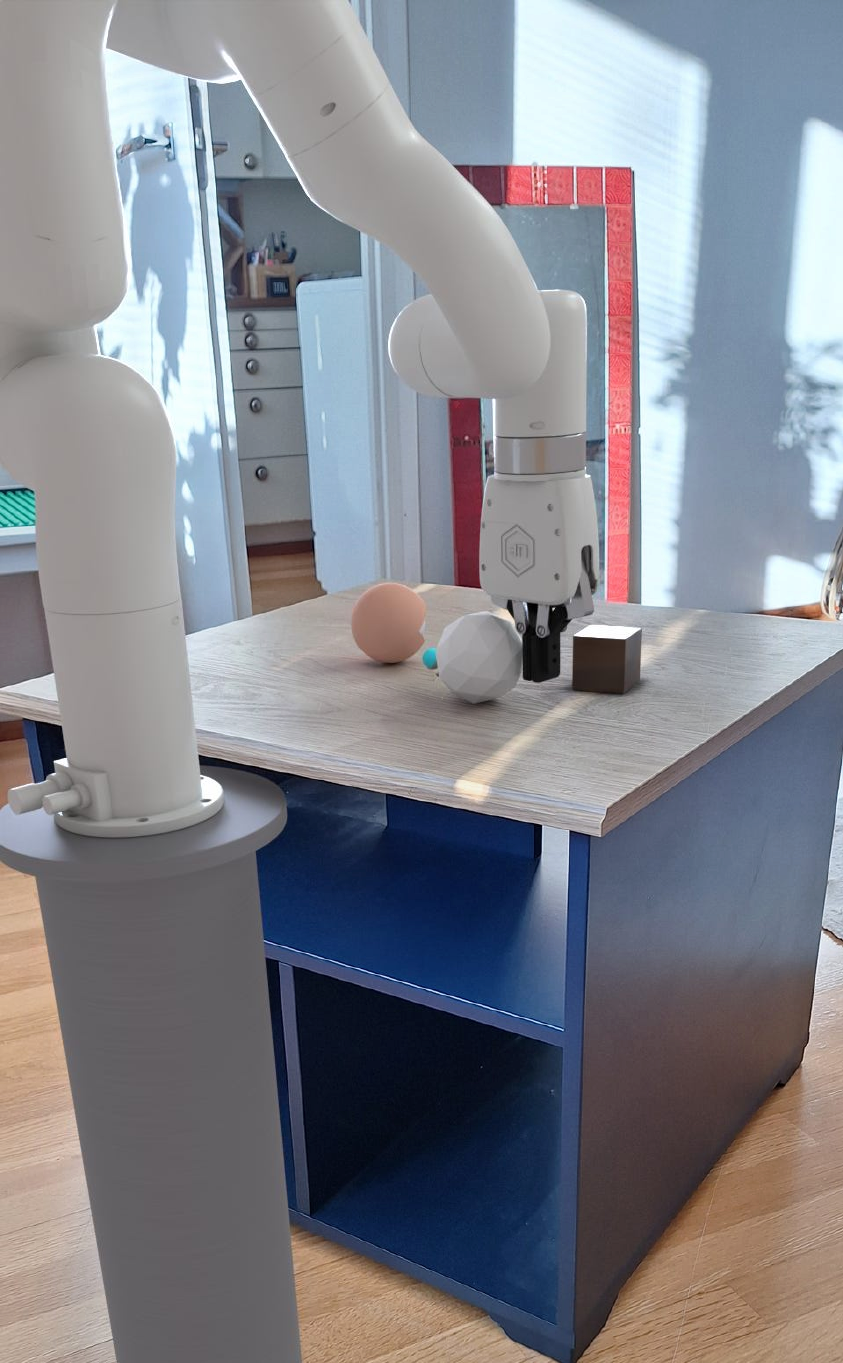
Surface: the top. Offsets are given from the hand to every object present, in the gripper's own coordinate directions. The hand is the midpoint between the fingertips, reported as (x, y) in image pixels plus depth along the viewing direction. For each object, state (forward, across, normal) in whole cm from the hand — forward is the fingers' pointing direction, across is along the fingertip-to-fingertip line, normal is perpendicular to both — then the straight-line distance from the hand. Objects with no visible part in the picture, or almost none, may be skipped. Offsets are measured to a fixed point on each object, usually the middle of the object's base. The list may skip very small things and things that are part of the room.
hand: (541, 678), depth 113 cm
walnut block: (+3, 0, +9) cm, 10 cm away
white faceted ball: (+3, -7, -2) cm, 8 cm away
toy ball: (+3, -23, +3) cm, 24 cm away
